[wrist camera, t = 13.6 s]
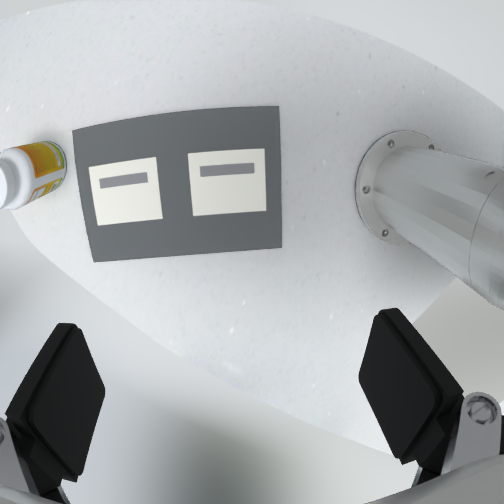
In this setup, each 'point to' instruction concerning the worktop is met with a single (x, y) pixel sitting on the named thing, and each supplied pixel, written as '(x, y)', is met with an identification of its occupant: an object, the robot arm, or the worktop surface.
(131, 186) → the label mat
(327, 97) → the worktop surface
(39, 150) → the supplement bottle
